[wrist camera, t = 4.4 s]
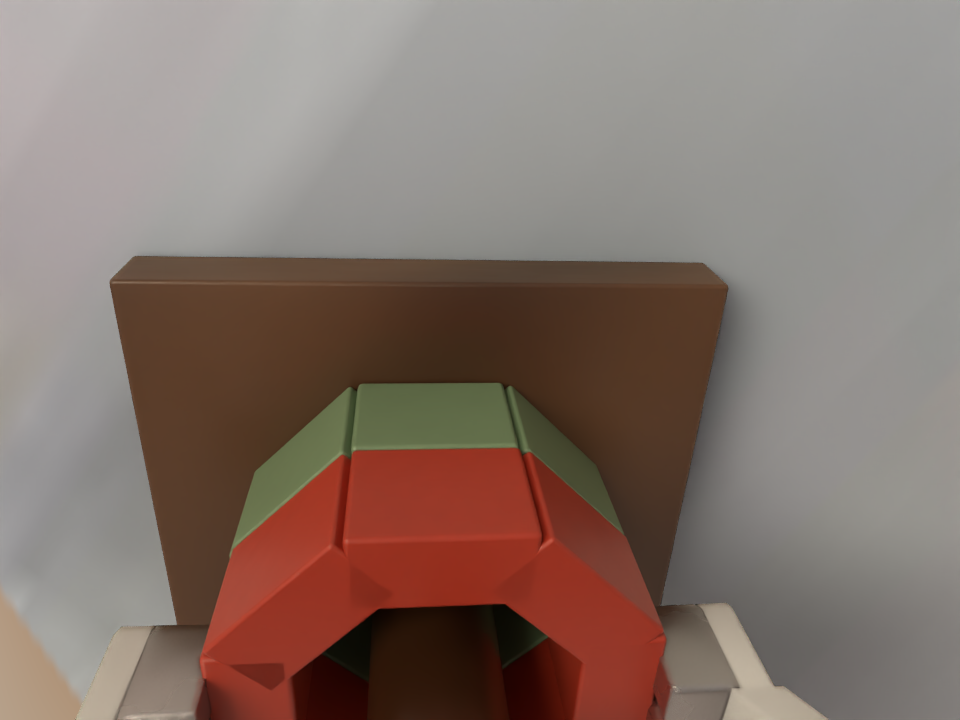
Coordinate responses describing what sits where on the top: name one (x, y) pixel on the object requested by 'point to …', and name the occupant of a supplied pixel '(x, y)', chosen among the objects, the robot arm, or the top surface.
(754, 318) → the top surface
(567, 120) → the top surface
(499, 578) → the red ring
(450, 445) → the green ring
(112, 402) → the top surface
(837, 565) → the top surface
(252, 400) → the post
